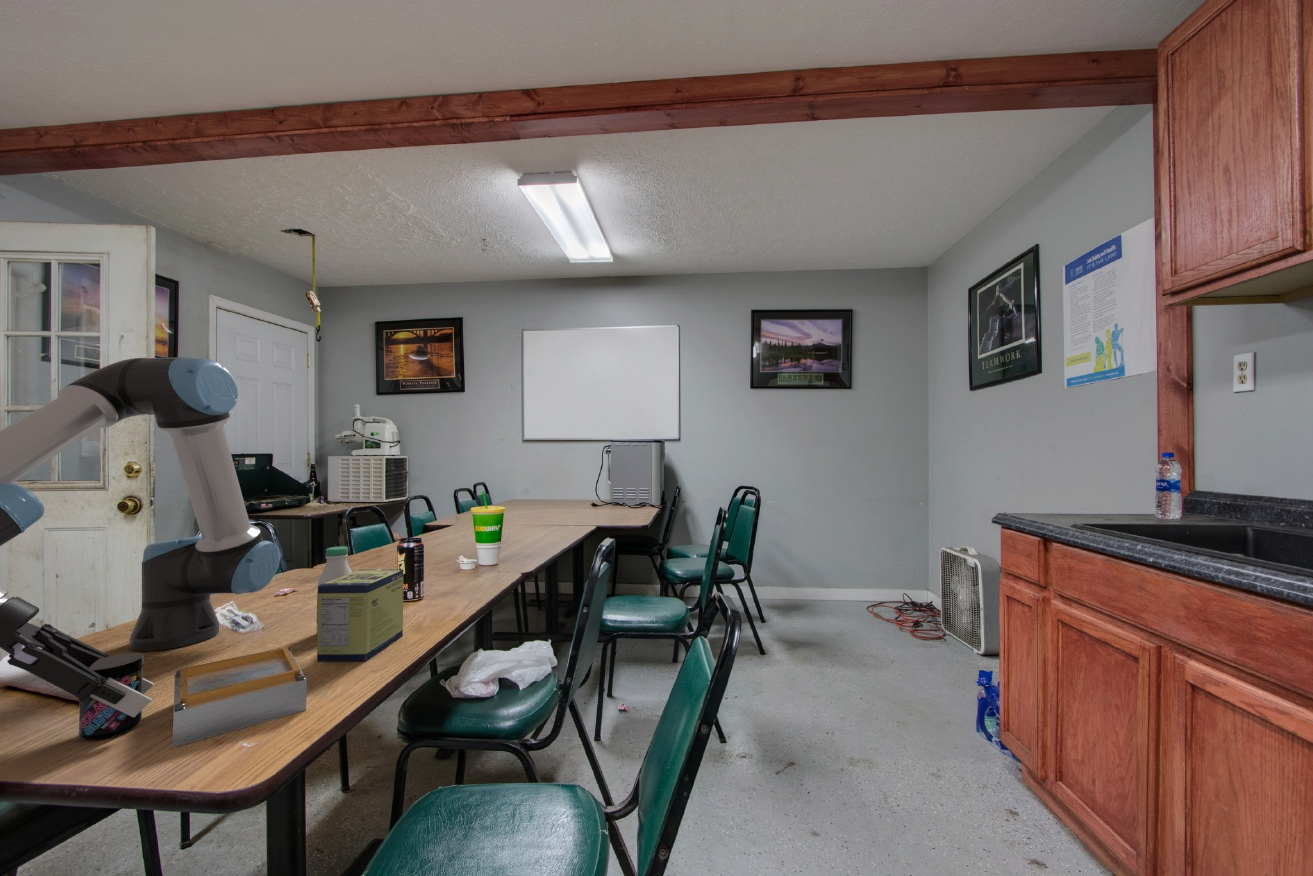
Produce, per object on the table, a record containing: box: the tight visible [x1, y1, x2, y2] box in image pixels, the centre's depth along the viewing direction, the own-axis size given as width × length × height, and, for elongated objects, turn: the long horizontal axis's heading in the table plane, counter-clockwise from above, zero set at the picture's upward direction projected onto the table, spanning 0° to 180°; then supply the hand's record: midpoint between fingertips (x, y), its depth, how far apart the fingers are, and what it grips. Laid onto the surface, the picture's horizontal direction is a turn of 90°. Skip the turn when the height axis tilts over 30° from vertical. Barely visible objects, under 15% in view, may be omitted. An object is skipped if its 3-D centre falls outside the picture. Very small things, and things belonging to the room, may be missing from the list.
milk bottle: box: [316, 546, 353, 629], centre depth 123 cm, size 8×8×20 cm
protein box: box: [316, 568, 404, 662], centre depth 113 cm, size 10×16×16 cm
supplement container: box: [78, 652, 145, 742], centre depth 79 cm, size 7×7×10 cm
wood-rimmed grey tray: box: [172, 646, 308, 748], centre depth 86 cm, size 18×16×6 cm
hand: (144, 699), depth 81 cm, fingers closed on supplement container, 7 cm apart
